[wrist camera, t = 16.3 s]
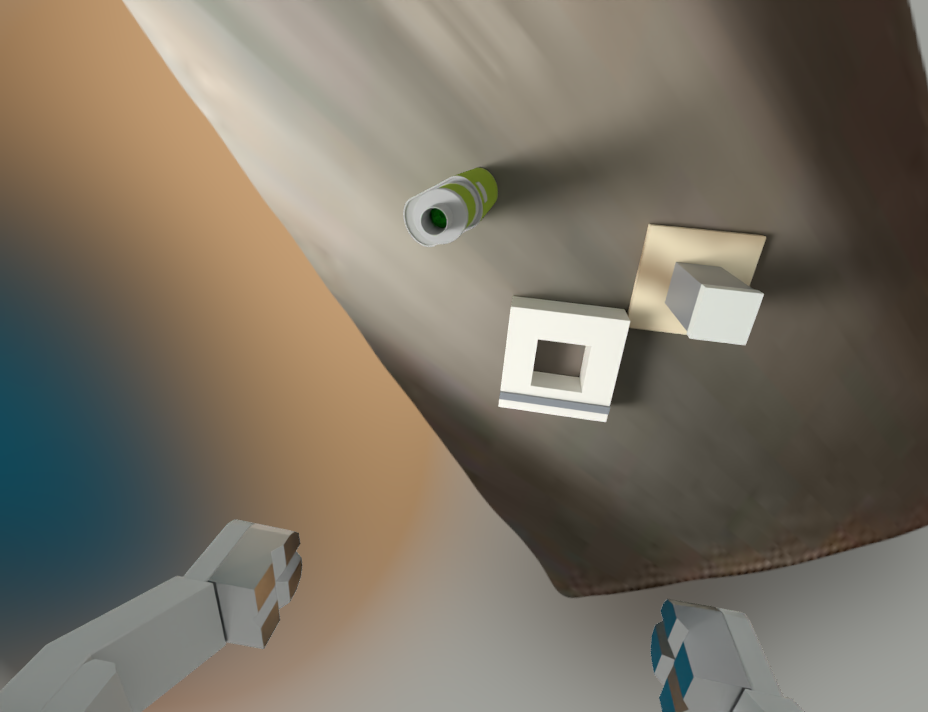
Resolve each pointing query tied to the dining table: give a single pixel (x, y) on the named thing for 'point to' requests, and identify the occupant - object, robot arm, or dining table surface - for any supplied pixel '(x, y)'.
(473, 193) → the vape
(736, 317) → the plug
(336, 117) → the dining table surface
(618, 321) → the white flat square piece
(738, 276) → the coaster
